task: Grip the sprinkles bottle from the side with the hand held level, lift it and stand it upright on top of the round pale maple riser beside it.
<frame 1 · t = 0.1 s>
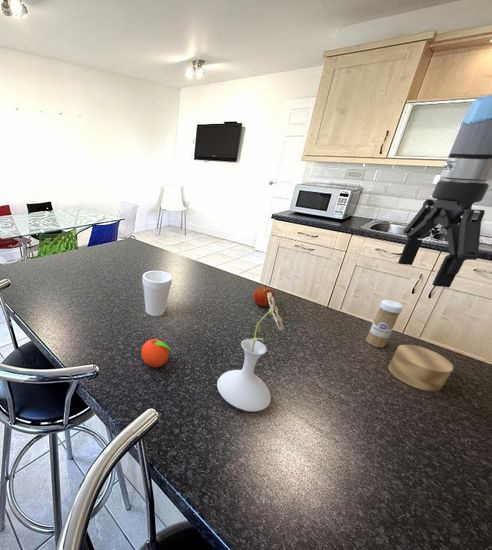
hand: (421, 274, 70), 25 cm above the kitchen island, tool pointing down, fingers open, 13 cm apart
foam cup: (154, 311, 100), on the kitchen island
riser: (413, 376, 74), on the kitchen island
fruit: (261, 306, 105), on the kitchen island
flower in vase: (243, 394, 68), on the kitchen island
sprinkles bottle: (374, 343, 86), on the kitchen island
clementine: (156, 364, 76), on the kitchen island
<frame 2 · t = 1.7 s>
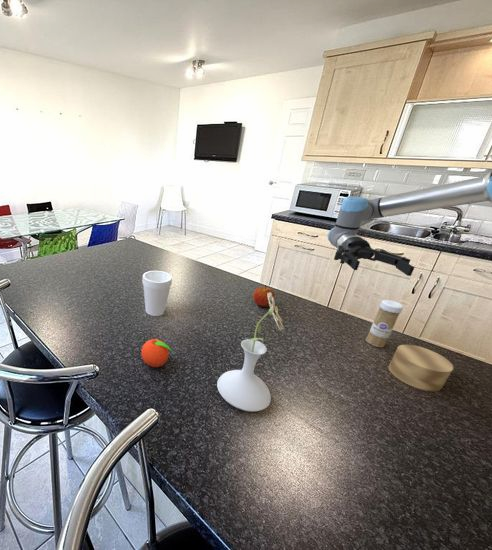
hand: (383, 268, 86), 20 cm above the kitchen island, tool horizontal, fingers open, 13 cm apart
nothing on the kitchen island moved.
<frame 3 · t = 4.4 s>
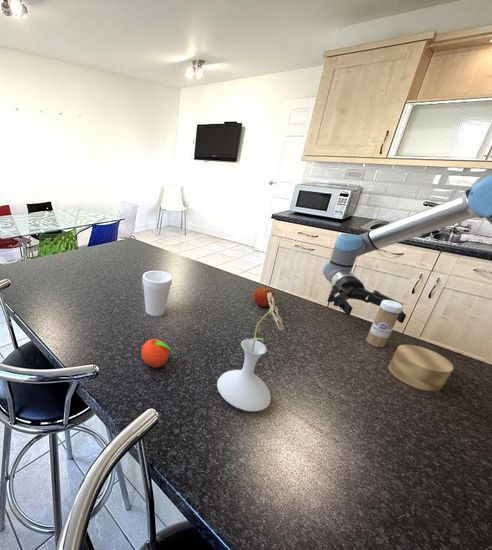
hand: (375, 315, 87), 7 cm above the kitchen island, tool horizontal, fingers open, 13 cm apart
nothing on the kitchen island moved.
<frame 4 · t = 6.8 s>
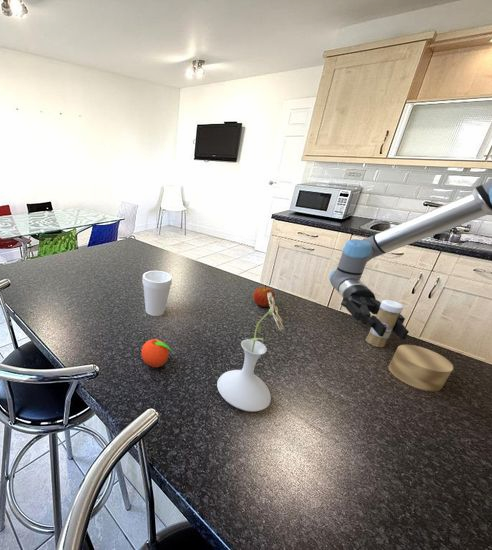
hand: (393, 333, 78), 7 cm above the kitchen island, tool horizontal, fingers closed on sprinkles bottle, 4 cm apart
sprinkles bottle: (374, 343, 86), on the kitchen island, touching gripper
everything else where it was.
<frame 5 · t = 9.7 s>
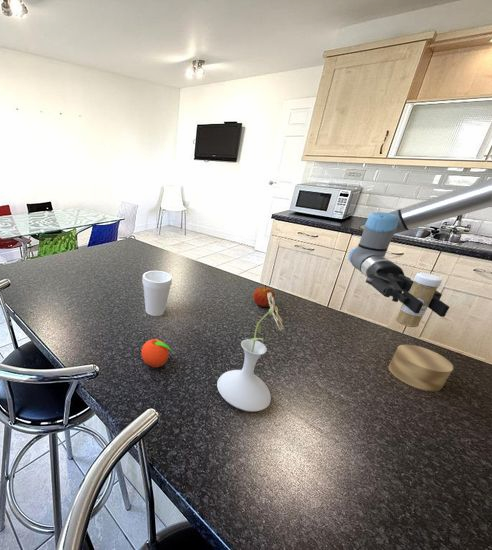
hand: (431, 309, 68), 18 cm above the kitchen island, tool horizontal, fingers closed on sprinkles bottle, 4 cm apart
sprinkles bottle: (406, 323, 76), point 11 cm above the kitchen island, touching gripper
everything else where it was.
when the fingers open (13 cm above the kitchen island, at t = 12.7 s): sprinkles bottle stays where it is, resting on riser.
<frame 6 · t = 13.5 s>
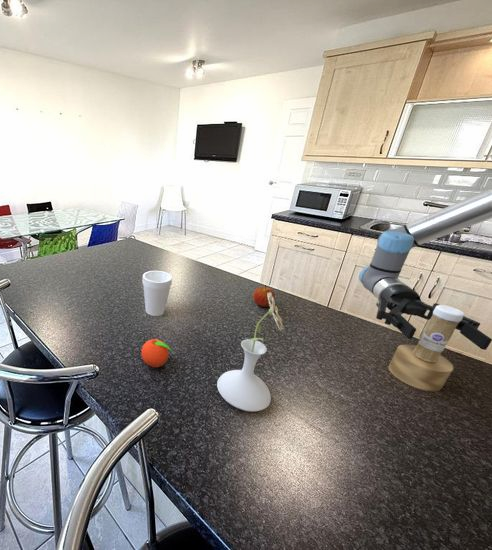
hand: (448, 339, 65), 14 cm above the kitchen island, tool horizontal, fingers open, 13 cm apart
sprinkles bottle: (423, 357, 71), point 6 cm above the kitchen island, touching riser
everything else where it was.
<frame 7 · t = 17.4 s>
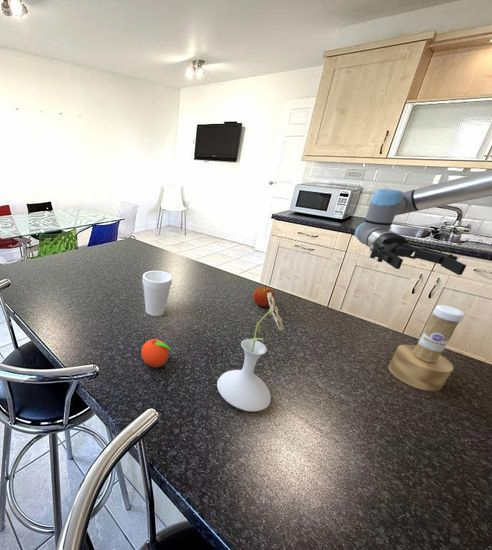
hand: (430, 267, 77), 24 cm above the kitchen island, tool horizontal, fingers open, 13 cm apart
nothing on the kitchen island moved.
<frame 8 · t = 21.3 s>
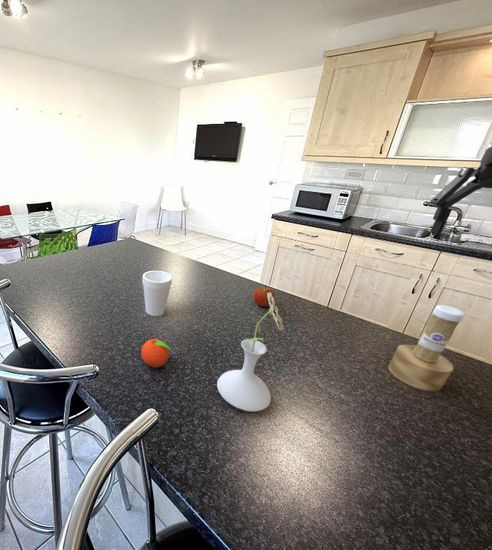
hand: (466, 235, 77), 32 cm above the kitchen island, tool pointing down, fingers open, 13 cm apart
nothing on the kitchen island moved.
at the end: sprinkles bottle inside the target area on the riser (0.0 cm from its centre), point 5.8 cm above the riser's base; sprinkles bottle tilted 0°; the gripper is holding nothing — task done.
